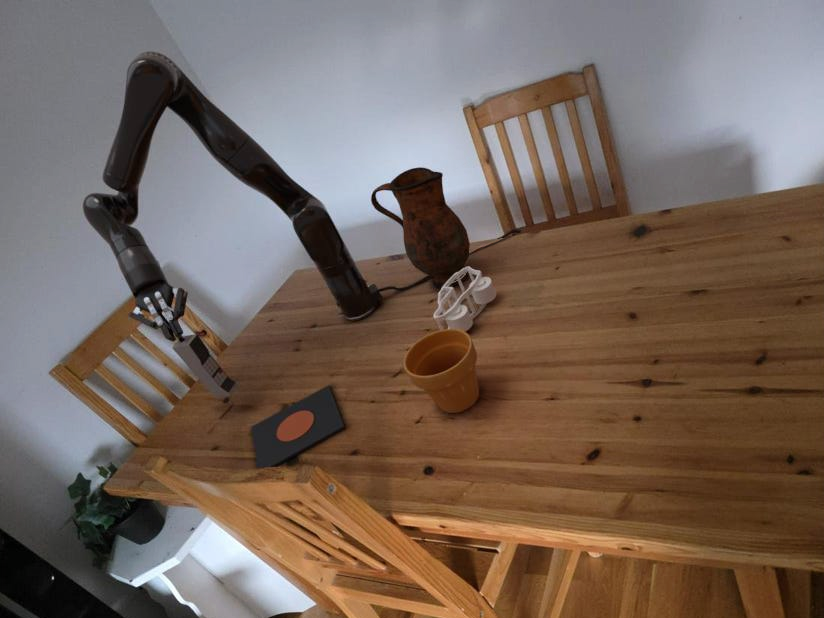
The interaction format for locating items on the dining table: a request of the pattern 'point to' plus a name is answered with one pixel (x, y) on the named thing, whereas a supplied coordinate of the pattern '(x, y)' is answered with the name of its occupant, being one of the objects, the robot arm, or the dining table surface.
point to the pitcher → (428, 225)
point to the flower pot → (445, 369)
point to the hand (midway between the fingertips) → (176, 338)
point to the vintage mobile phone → (203, 364)
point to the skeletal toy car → (459, 313)
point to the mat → (297, 428)
